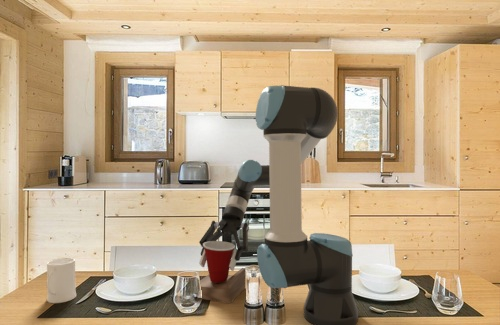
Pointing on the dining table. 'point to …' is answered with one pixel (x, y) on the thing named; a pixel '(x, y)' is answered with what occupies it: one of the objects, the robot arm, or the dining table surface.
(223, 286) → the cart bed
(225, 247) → the plastic cup
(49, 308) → the dining table surface
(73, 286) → the mug
